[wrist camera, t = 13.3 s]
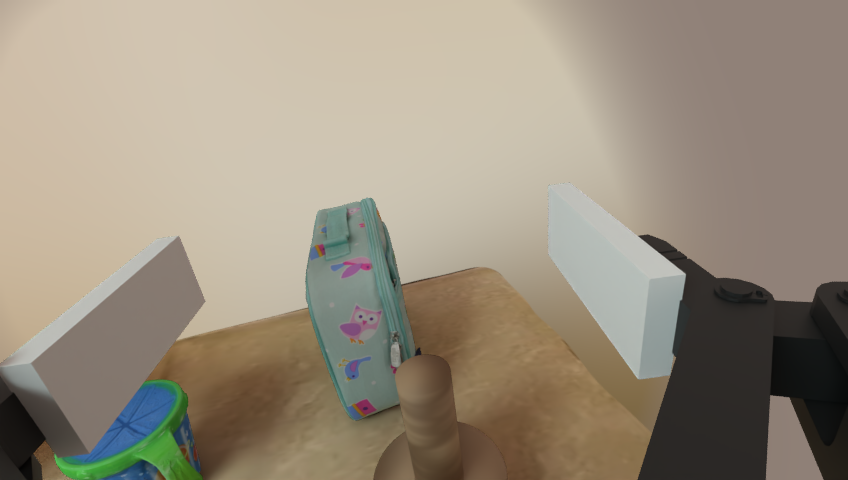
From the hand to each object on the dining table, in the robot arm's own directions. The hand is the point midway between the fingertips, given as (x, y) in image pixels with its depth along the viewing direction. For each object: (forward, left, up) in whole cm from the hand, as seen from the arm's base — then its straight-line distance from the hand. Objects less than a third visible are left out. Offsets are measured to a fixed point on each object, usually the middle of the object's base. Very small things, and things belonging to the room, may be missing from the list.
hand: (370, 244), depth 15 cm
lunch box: (-7, +33, -32) cm, 46 cm away
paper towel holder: (0, +10, -27) cm, 29 cm away
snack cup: (-29, +17, -32) cm, 46 cm away
